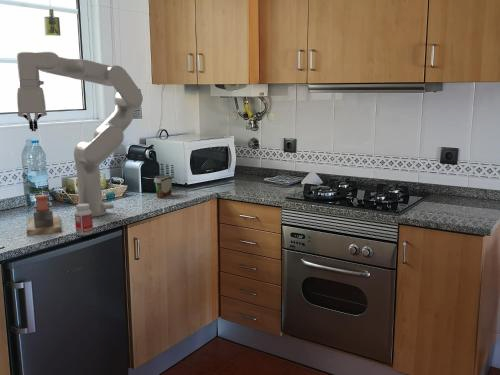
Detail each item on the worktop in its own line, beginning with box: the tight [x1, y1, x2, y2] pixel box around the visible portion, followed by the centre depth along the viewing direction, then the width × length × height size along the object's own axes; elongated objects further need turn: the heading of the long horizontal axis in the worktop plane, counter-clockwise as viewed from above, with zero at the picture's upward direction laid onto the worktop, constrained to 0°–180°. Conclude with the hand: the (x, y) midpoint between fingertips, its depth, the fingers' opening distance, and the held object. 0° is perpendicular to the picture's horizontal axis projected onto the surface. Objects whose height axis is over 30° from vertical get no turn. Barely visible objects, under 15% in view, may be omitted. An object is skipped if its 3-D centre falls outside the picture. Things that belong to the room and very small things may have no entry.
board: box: [26, 201, 63, 236], centre depth 210 cm, size 12×22×8 cm, turn 21°
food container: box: [153, 174, 173, 200], centre depth 266 cm, size 12×6×10 cm, turn 161°
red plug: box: [35, 194, 49, 212], centre depth 204 cm, size 4×4×9 cm
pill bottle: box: [74, 203, 94, 236], centre depth 198 cm, size 6×6×11 cm
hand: (33, 131), depth 212 cm, fingers closed
